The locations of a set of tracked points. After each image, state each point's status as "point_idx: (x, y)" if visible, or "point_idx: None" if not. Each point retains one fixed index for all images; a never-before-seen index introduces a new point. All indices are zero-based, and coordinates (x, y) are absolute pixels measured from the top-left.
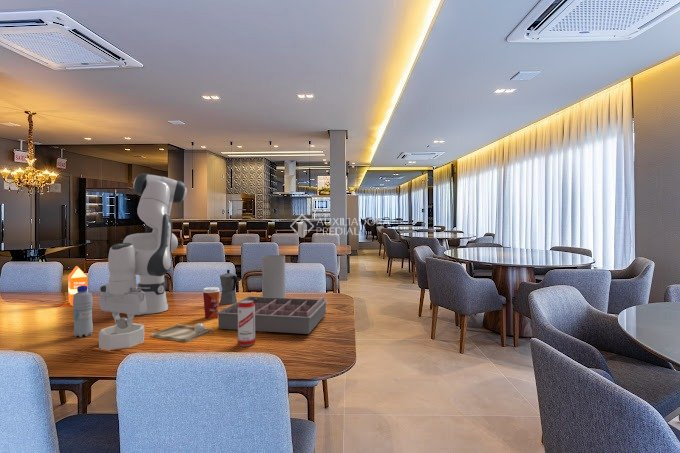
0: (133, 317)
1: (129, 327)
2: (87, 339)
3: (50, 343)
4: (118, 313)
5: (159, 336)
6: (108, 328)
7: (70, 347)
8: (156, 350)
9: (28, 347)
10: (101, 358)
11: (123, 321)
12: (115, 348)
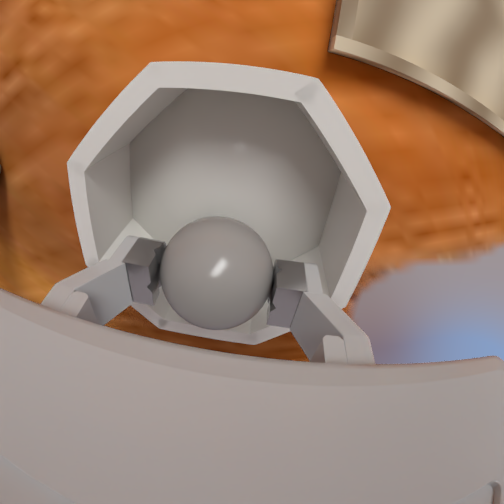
0: (347, 318)
1: (156, 98)
2: (28, 189)
3: (3, 253)
4: (92, 312)
5: (410, 77)
6: (95, 235)
7: (71, 272)
8: (455, 241)
9: (7, 285)
10: (287, 335)
11: (247, 319)
12: None
